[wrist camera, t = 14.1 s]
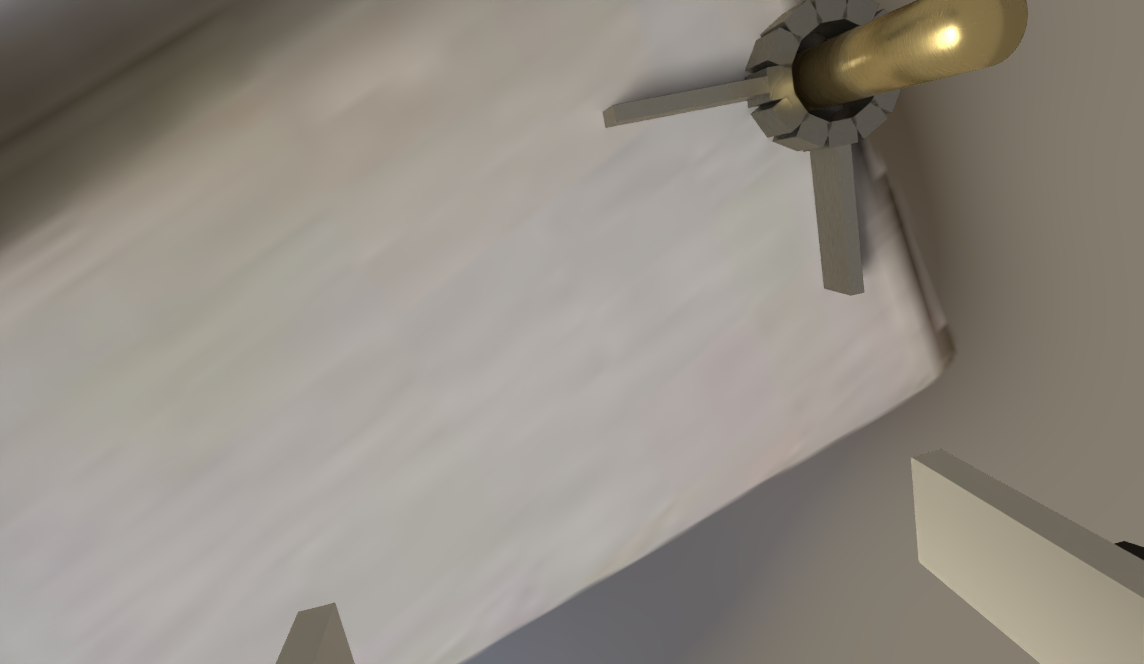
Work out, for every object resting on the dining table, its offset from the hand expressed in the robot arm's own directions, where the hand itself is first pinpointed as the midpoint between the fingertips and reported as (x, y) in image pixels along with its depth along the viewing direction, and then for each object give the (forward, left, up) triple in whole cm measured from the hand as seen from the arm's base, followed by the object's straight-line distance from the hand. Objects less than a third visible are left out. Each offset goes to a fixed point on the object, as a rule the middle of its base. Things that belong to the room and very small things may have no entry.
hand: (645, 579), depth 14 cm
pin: (-12, +22, -32) cm, 40 cm away
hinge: (-7, +17, -32) cm, 37 cm away
